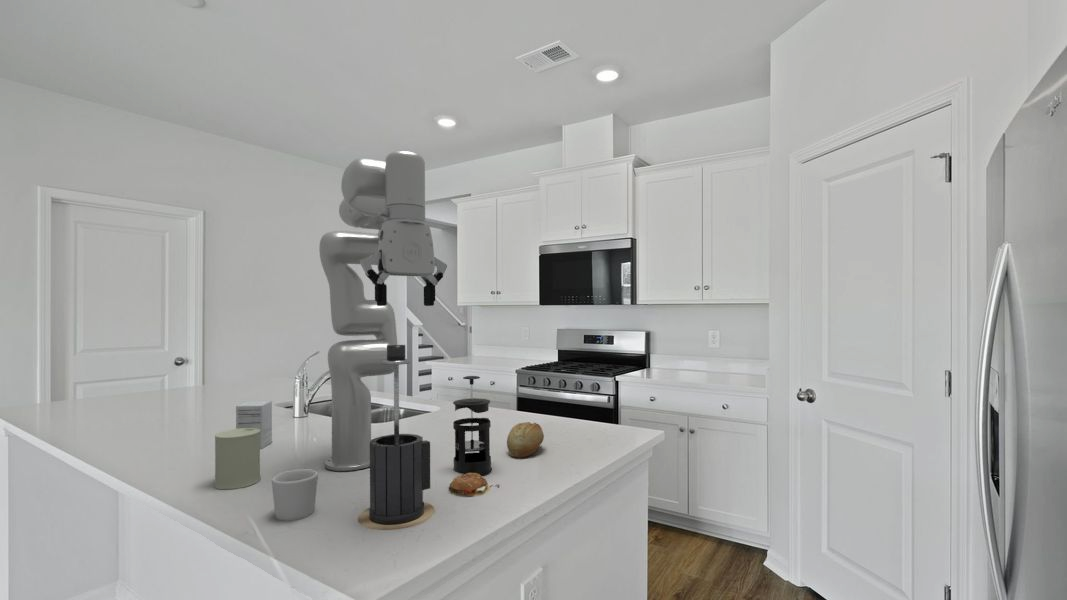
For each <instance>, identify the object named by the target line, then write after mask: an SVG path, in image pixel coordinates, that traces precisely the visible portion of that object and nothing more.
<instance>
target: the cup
mask: <svg viewBox="0 0 1067 600" xmlns="http://www.w3.org/2000/svg"><path fill="white" fill-rule="evenodd" d="M318 477H319V472H318V471H316V470H314V469H310V468H298V469H292V470H291V469H290V470H287V471H282V472H280V473H278V474H276V475H274V476H273V477H272V478H271V488H272V496H273V497H272V498H273V507H274V513H275V516H276V519H277V520H279V521H296V520H300V519H304V518H306V517H309V516H310V515H312V514H313V513H314V511H315V507H316V499H317V489H318V480H319V478H318Z"/></svg>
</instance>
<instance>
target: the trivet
mask: <svg viewBox="0 0 1067 600" xmlns="http://www.w3.org/2000/svg"><path fill="white" fill-rule="evenodd" d="M423 502H424V514H423V515H422V516H421V517H420V518H418V519H416V520H414V521H411V522H408V523H404V524H398V525H381V524H376V523H373V522H372V521H370V519H369V508H370V507H368V508H366V509H365V510H363V511H362V512H360V514H358V517H357V522H358V523H359V525H360V526H362V527H363V528H366V529H370V530H376V531H396V530H403V529H407V528H412V527H415V526H419V525H421V524H423V523H425V522H427V521H429V520H430V519H432V518H433V516H434V515H435V514H436V513H435V512H436V509H435V506H433V505H432V504H431V503H429V502H426V501H423Z"/></svg>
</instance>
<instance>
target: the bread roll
mask: <svg viewBox="0 0 1067 600" xmlns="http://www.w3.org/2000/svg"><path fill="white" fill-rule="evenodd" d="M544 437H545V435H544V431H543V428H542V427H541V425H540V424H539V423H537V422H533V423H532V422H530V421H527V422H520V423H517V424H515V425H514V426H513V427H512V428H511V429H510V431H509V432H508V436H507V439H506V447H507V450H508V452H509V454H510V455H511V457H514V458H516V459H521V458H522V459H523V458H526V457H528V456H531V455H532V454H534V453H535V452H536V451H537V450H538V449H539V448H540V446H541V445H542V443H543V441H544V439H545V438H544Z"/></svg>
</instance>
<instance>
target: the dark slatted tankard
mask: <svg viewBox="0 0 1067 600" xmlns="http://www.w3.org/2000/svg"><path fill="white" fill-rule="evenodd" d="M429 489H431V441H429V440H427V439H426V440H423V436H421V435H419V434H413V433H399V445H394V433H393V434H387V435H381V436H377V437H375V438H373V439H372V438H371V442H370V467H369V507H368V508H369V519H370V521H372V522H373V523H376V524H381V525H398V524H404V523H408V522H411V521H414V520H416V519H418V518H420V517H421V516H422V515H423V514H424V502H425V501H424V491H425V490H426V491H427V490H429Z"/></svg>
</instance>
